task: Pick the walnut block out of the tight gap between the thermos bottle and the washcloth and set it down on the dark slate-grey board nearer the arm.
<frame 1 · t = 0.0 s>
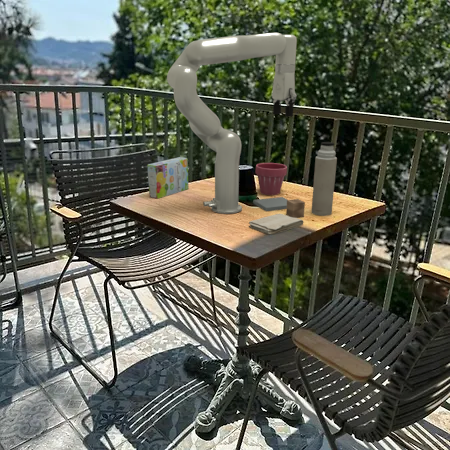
hand: (282, 115, 172), 37 cm above the table, tool pointing down, fingers open, 9 cm apart
thermos bottle: (321, 213, 173), on the table
plant pot: (270, 193, 201), on the table
snack box: (169, 193, 199), on the table
slate board: (274, 205, 182), on the table
washcloth: (275, 227, 158), on the table
walnut block: (294, 215, 169), on the table
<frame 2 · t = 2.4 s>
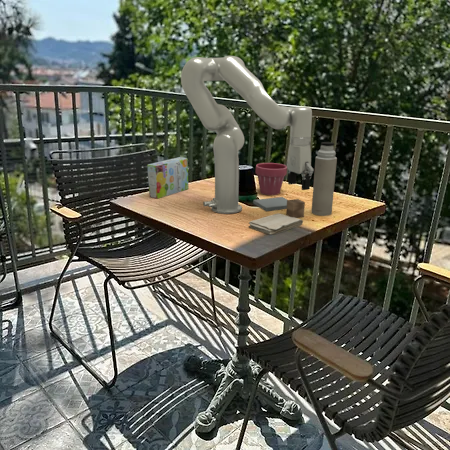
hand: (298, 186, 165), 12 cm above the table, tool pointing down, fingers open, 9 cm apart
nothing on the table moved.
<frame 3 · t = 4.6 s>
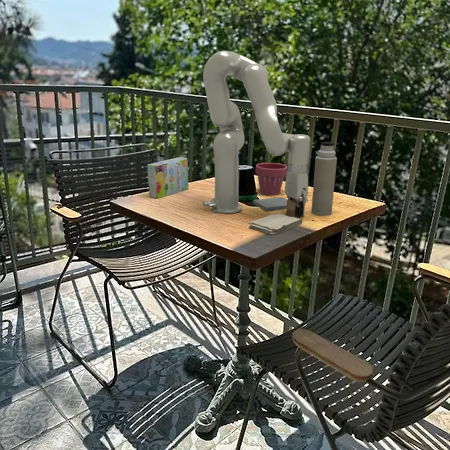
hand: (295, 213, 169), 1 cm above the table, tool pointing down, fingers closed on walnut block, 5 cm apart
walnut block: (295, 215, 169), on the table, touching gripper
everything else where it was.
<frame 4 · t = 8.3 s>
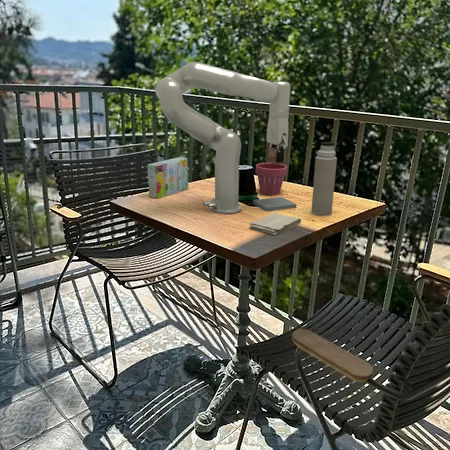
hand: (276, 160, 175), 19 cm above the table, tool pointing down, fingers closed on walnut block, 5 cm apart
walnut block: (276, 162, 176), point 18 cm above the table, touching gripper
everything else where it was.
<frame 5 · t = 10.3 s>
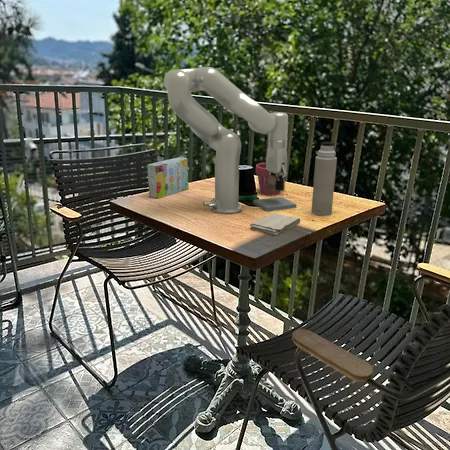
hand: (276, 187, 179), 8 cm above the table, tool pointing down, fingers closed on walnut block, 5 cm apart
walnut block: (276, 189, 180), point 7 cm above the table, touching gripper
everything else where it was.
when the fingers open (4 cm above the table, at t = 12.0 s): walnut block drops 1 cm, resting on slate board.
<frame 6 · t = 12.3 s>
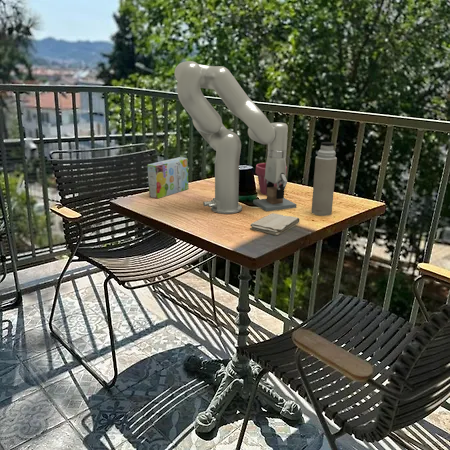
hand: (274, 195, 180), 4 cm above the table, tool pointing down, fingers open, 8 cm apart
walnut block: (274, 202, 181), point 1 cm above the table, touching slate board
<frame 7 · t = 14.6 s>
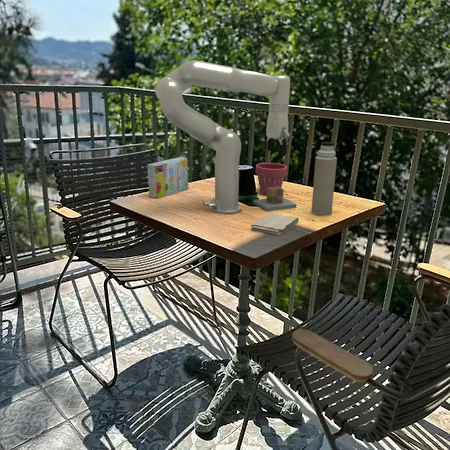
hand: (276, 152, 175), 22 cm above the table, tool pointing down, fingers open, 9 cm apart
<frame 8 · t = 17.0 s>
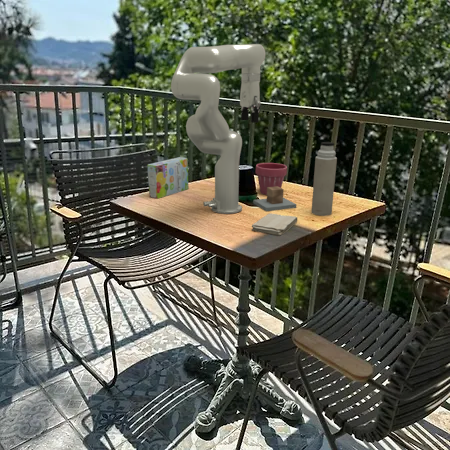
hand: (249, 121, 183), 33 cm above the table, tool pointing down, fingers open, 9 cm apart
at the end: walnut block inside the target area on the slate board (0.0 cm from its centre), point 1.5 cm above the slate board's base; walnut block tilted 0°; the gripper is holding nothing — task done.
